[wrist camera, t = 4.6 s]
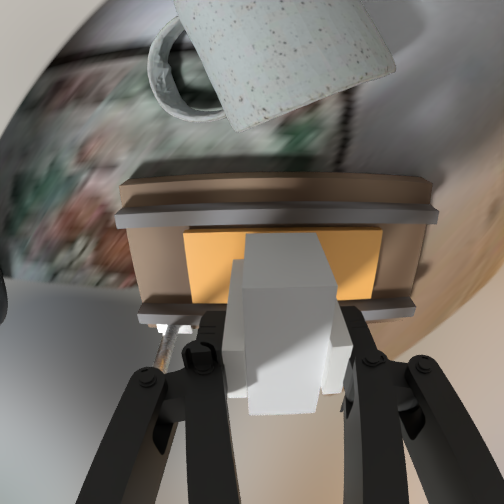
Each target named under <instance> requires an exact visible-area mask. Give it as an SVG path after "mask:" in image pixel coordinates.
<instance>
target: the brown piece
mask: <svg viewBox="0 0 504 504" xmlns="http://www.w3.org/2000/svg"><path fill="white" fill-rule="evenodd" d="M432 184H433V183H431V182H429V181H427V180H425V179H424V178H422V177H414V176H400V175H385V174H366V173H340V172H237V173H211V174H192V175H176V176H162V177H149V178H138V179H128V180H127V181H125V182H124V183H123V184H121V185H120V186H119V189H120V196H121V202H122V209H120V210H119V211H118V212H117V213H116V214H115V215H114V216H115V221H116V227H117V229H122V228H126V231H127V236H128V241H129V246H130V251H131V256H132V261H133V265H134V270H135V274H136V278H137V283H138V287H139V291H140V295H141V299H142V305H141V307H140V309H139V311H138V313H137V315H138V318H139V322H140V324H148V326H149V327H157V325H156V324H161V325H192V326H193V329H198V328H199V324H200V319H201V317H202V316H203V315H204V314H205V312H206V311H226V310H227V303H193V302H192V295H191V289H190V282H189V275H188V268H187V261H186V253H185V245H184V237H183V232H184V230H191V229H228V228H282V227H380V228H381V229H382V230H383V233H382V239H381V246H380V252H379V258H378V264H377V269H376V274H375V280H374V285H373V290H372V295H371V299H354V300H337V301H338V304H339V306H356V307H357V308H358V309H359V310H360V311H361V312H362V314H363V316H364V319H365V321H366V323H367V324H369V323H381V322H392V321H402V320H403V318H404V317H412V316H414V312H415V309H416V306H415V304H414V303H413V301H412V299H411V298H410V293H411V289H412V286H413V282H414V278H415V274H416V270H417V265H418V261H419V257H420V252H421V248H422V243H423V238H424V233H425V228H426V224H437V220H438V215H439V211H438V210H437V209H435V208H434V207H433V206H431V205H430V198H431V191H432Z"/></svg>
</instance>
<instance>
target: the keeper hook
mask: <svg viewBox="0 0 504 504" xmlns="http://www.w3.org/2000/svg"><path fill="white" fill-rule="evenodd" d="M156 325H157V328H158V332H163V336H162V339H161V342H160V345H159V348H158V351H157V354H156V357H155V360H154V363H153V366H152V367H155V368H158V369H160V370H161V371H162V372H163V374H165V373H167V370H168V367H169V363H170V360H171V356H172V352H173V349H174V345H175V342H176V339H177V335H178V333H191V334H192V332H193V326H192V325H161V324H156Z"/></svg>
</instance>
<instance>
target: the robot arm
mask: <svg viewBox="0 0 504 504" xmlns="http://www.w3.org/2000/svg"><path fill="white" fill-rule="evenodd" d="M243 267H244V259H233V263H232V271H231V278H230V286H229V294H228V302H227V310H226V311H206V312H205V314H204V315H203V316H202V317H201V319H200V324H199V328H198V334H197V338H196V340H195V341H192V342H190V343H188V344H187V345H186V346H185V347H184V348H183V350H182V358H183V362H184V366H185V368H183V369H181V370H178V371H175V372H170V373H165V374H163V372H162V371H161V370H160V369H158V368H155V367H144V368H141V369H139V370H137V371H136V372H134V374H133V375H132V377H131V378H130V380H129V382H128V384H127V387H126V389H125V391H124V393H123V395H122V397H121V400H120V401H119V404H118V406H117V408H116V410H115V412H114V414H113V417H112V419H111V421H110V423H109V425H108V428H107V430H106V432H105V434H104V437H103V439H102V441H101V443H100V446H99V448H98V451H97V453H96V455H95V457H94V460H93V462H92V464H91V467H90V469H89V471H88V474H87V476H86V479H85V481H84V484H83V486H82V488H81V491H80V494H79V496H78V499H77V501H76V503H75V504H155V501H156V497H157V494H158V490H159V487H160V483H161V480H162V477H163V473H164V470H165V466H166V463H167V459H168V456H169V453H170V449H171V446H172V443H173V439H174V436H175V432H176V429H177V426H178V422H180V421H185V427H186V463H187V483H188V501H189V504H241V498H240V492H239V485H238V480H237V472H236V465H235V459H234V451H233V444H232V436H231V429H230V421H229V413H228V406H227V394H228V398H247V372H246V354H245V335H244V316H243V297H242V282H243ZM7 308H8V301H7V292H6V287H5V283H4V279H3V275H2V272H1V269H0V325H1V324H2V323H3V321H4V319H5V317H6V314H7ZM343 386H344V390H345V396H344V400H343V403H342V406H341V410H340V412H343V410H344V500H343V504H409V495H408V483H407V472H406V463H405V456H404V455H405V454H404V447H403V440H404V443H405V445H406V447H407V450H408V452H409V455H410V457H411V459H412V462H413V464H414V467H415V469H416V472H417V474H418V477H419V479H420V482H421V484H422V487H423V490H424V492H425V495H426V497H427V500H428V503H429V504H504V479H503V477H502V475H501V473H500V471H499V469H498V467H497V465H496V463H495V461H494V459H493V457H492V455H491V453H490V451H489V449H488V448H487V446H486V444H485V442H484V440H483V439H482V436H481V435H480V433H479V431H478V429H477V427H476V426H475V424H474V422H473V421H472V419H471V417H470V415H469V414H468V412H467V410H466V408H465V407H464V405H463V403H462V402H461V400H460V398H459V397H458V395H457V393H456V392H455V390H454V388H453V387H452V385H451V384H450V382H449V380H448V379H447V377H446V376H445V374H444V373H443V371H442V369H441V368H440V367H439V365H438V363H437V362H436V361H435V360H434V359H433V358H431V357H429V356H426V355H416V356H414V357H412V358H411V359H410V360H409V362H408V363H402V362H395V361H391V360H389V359H388V358H387V356H386V355H385V354H384V353H383V352H381V351H379V350H377V347H376V345H375V342H374V340H373V338H372V335H371V333H370V330H369V328H368V326H367V323H366V321H365V319H364V316H363V314H362V312H361V311H360V310H359V309H358V308H357V307H356V306H339V304H338V301H337V298H336V302H335V309H334V316H333V322H332V328H331V334H330V337H329V342H328V348H327V354H326V360H325V365H324V371H323V376H322V381H321V387H322V393H323V394H334V393H341V391H342V387H343ZM402 438H403V439H402Z"/></svg>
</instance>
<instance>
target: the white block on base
mask: <svg viewBox="0 0 504 504" xmlns="http://www.w3.org/2000/svg"><path fill="white" fill-rule="evenodd" d="M382 233H383V230H382V229H381V228H380V227H282V228H228V229H191V230H184V232H183V237H184V245H185V253H186V261H187V268H188V275H189V282H190V289H191V295H192V302H193V303H227V302H228V294H229V286H230V278H231V271H232V263H233V259H244V267H243V282H242V297H243V316H244V335H245V354H246V372H247V389H248V405H249V415H282V414H301V413H314V412H315V410H316V406H317V401H318V397H319V392H320V387H321V381H322V376H323V371H324V365H325V360H326V354H327V348H328V342H329V337H330V334H331V328H332V322H333V316H334V309H335V302H336V298H337V300H354V299H371V295H372V290H373V285H374V280H375V274H376V269H377V264H378V258H379V252H380V246H381V239H382Z"/></svg>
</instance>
